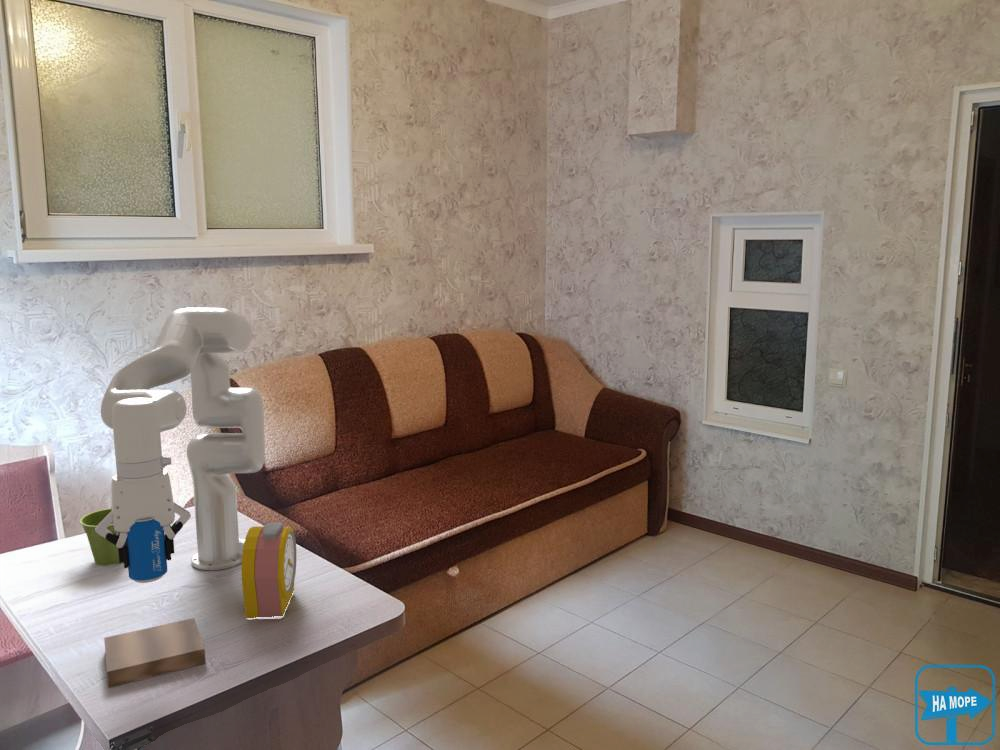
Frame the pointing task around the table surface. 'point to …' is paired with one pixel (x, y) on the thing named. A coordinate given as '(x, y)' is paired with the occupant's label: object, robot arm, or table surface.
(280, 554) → the alarm clock
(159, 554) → the beverage can
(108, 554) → the plant pot
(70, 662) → the table surface
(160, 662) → the walnut board
